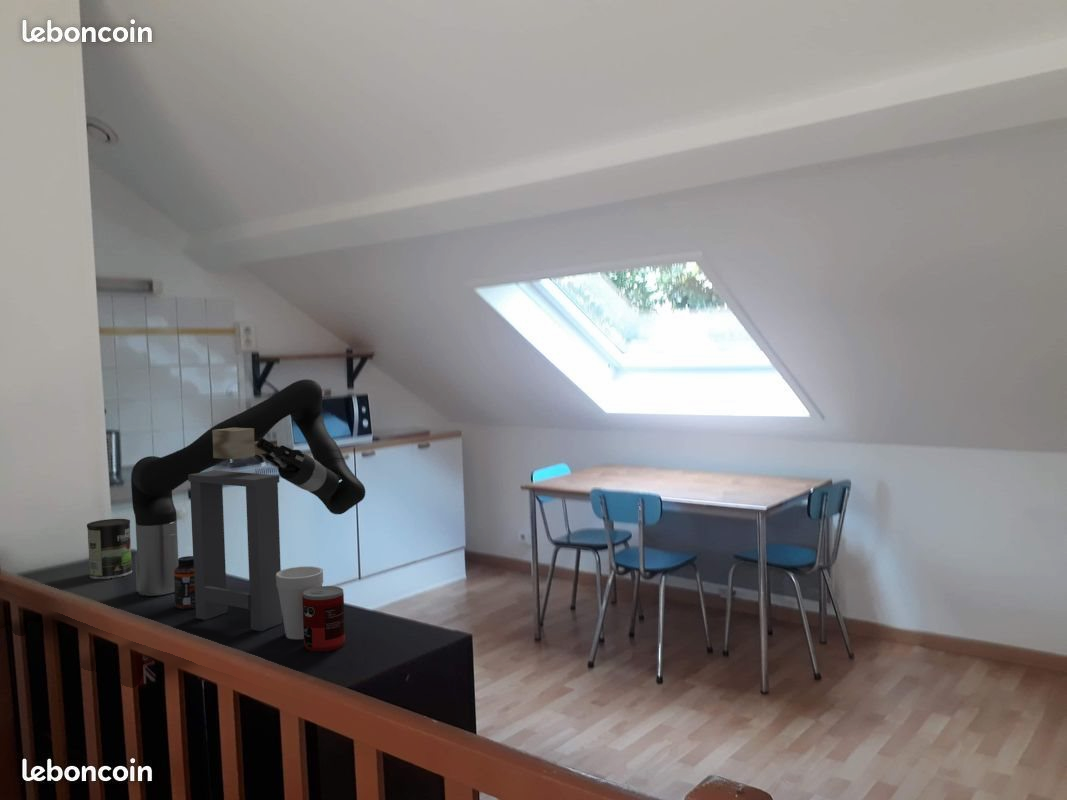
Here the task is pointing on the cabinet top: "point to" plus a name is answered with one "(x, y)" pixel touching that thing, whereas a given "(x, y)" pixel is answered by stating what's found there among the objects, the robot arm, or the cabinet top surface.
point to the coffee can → (109, 548)
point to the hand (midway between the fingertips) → (253, 441)
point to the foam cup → (296, 595)
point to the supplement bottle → (185, 583)
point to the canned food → (323, 618)
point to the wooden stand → (260, 546)
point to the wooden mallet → (235, 443)
